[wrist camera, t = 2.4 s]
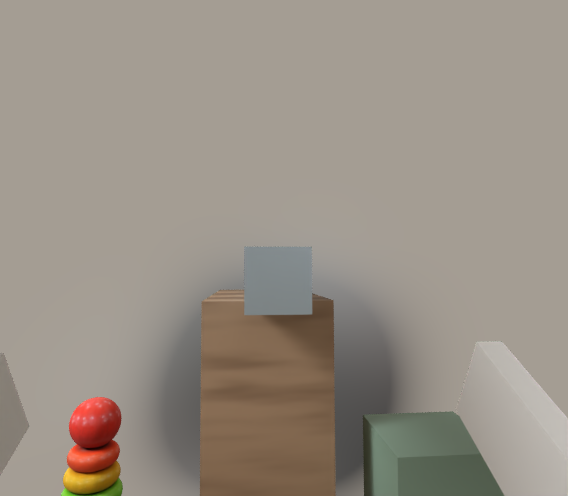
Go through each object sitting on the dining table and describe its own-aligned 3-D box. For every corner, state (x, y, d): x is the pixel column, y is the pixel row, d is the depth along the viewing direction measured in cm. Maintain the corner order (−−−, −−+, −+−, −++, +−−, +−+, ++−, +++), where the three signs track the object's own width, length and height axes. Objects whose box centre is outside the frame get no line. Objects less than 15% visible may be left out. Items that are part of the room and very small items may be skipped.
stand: (337, 716, 29) (333, 300, 31) (197, 730, 28) (201, 301, 30) (301, 536, 49) (300, 289, 51) (218, 541, 48) (220, 290, 50)
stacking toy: (70, 629, 36) (76, 417, 37) (27, 591, 41) (33, 402, 42) (143, 574, 43) (146, 395, 44) (99, 547, 47) (103, 384, 48)
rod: (312, 314, 21) (311, 246, 21) (244, 315, 20) (244, 246, 21) (274, 289, 51) (274, 261, 51) (246, 289, 50) (246, 261, 50)
